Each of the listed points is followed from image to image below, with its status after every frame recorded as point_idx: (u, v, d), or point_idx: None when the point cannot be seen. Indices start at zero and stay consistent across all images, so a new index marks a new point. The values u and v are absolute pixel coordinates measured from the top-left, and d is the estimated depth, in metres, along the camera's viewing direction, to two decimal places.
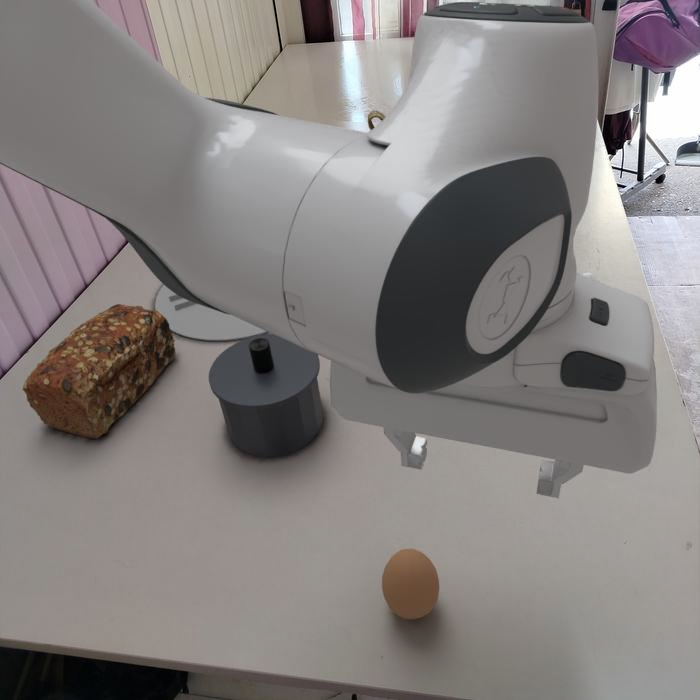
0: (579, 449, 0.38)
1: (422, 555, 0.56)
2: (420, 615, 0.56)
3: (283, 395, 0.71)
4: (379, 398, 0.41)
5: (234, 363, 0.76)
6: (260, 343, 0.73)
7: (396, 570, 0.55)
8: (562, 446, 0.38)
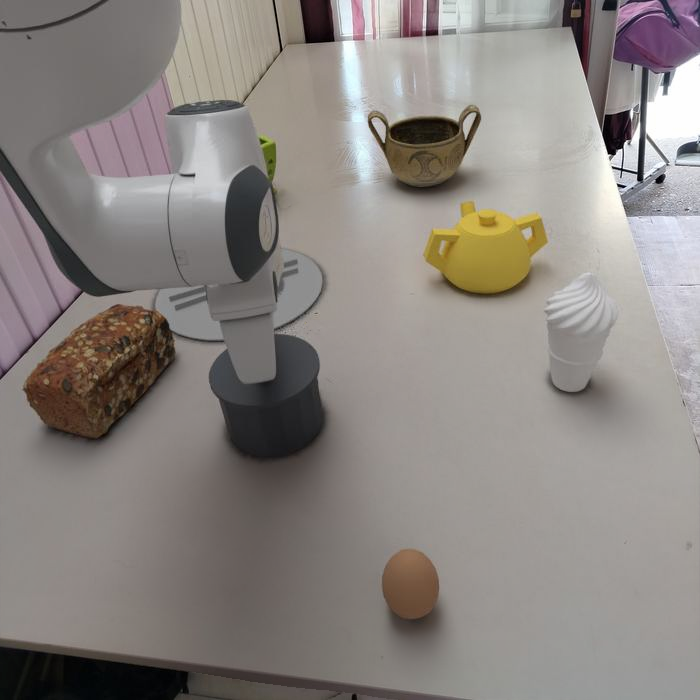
0: None
1: (422, 555, 0.56)
2: (420, 615, 0.56)
3: (283, 395, 0.71)
4: None
5: None
6: None
7: (396, 570, 0.55)
8: None
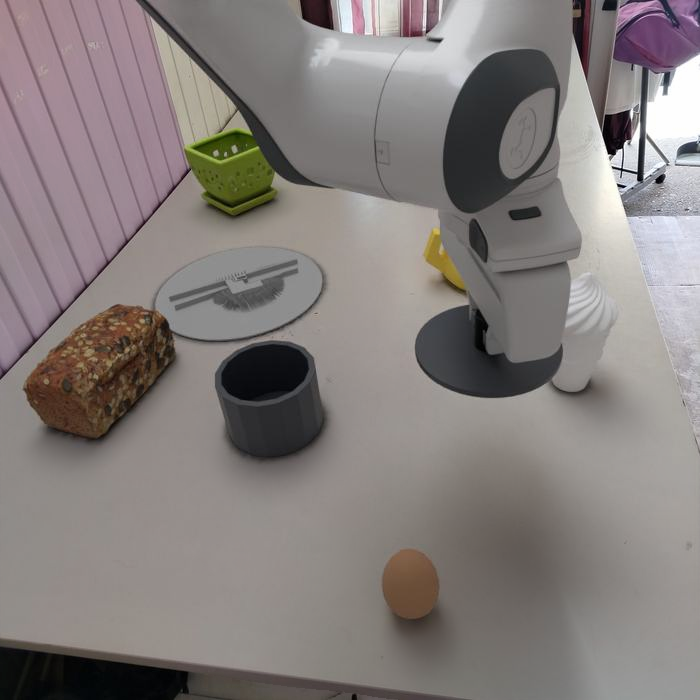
0: (494, 322, 0.49)
1: (422, 555, 0.56)
2: (420, 615, 0.56)
3: (530, 379, 0.54)
4: (449, 232, 0.58)
5: (445, 339, 0.59)
6: None
7: (396, 570, 0.55)
8: (490, 315, 0.49)
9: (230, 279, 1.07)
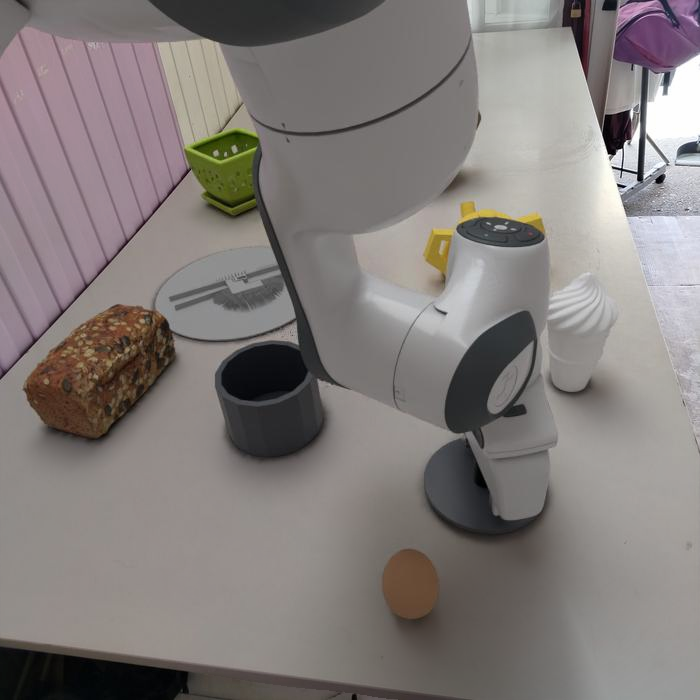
0: (489, 482, 0.60)
1: (422, 555, 0.56)
2: (420, 615, 0.56)
3: None
4: None
5: (449, 473, 0.70)
6: None
7: (396, 570, 0.55)
8: (486, 475, 0.61)
9: (230, 279, 1.07)
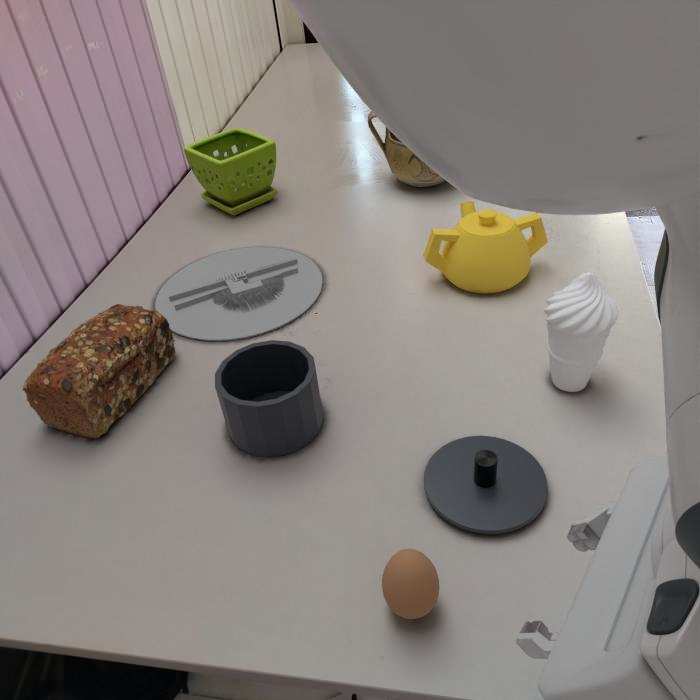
0: (574, 634, 0.36)
1: (422, 555, 0.56)
2: (420, 615, 0.56)
3: (520, 517, 0.65)
4: (652, 483, 0.43)
5: (449, 473, 0.70)
6: (487, 457, 0.67)
7: (396, 570, 0.55)
8: (579, 621, 0.37)
9: (230, 279, 1.07)
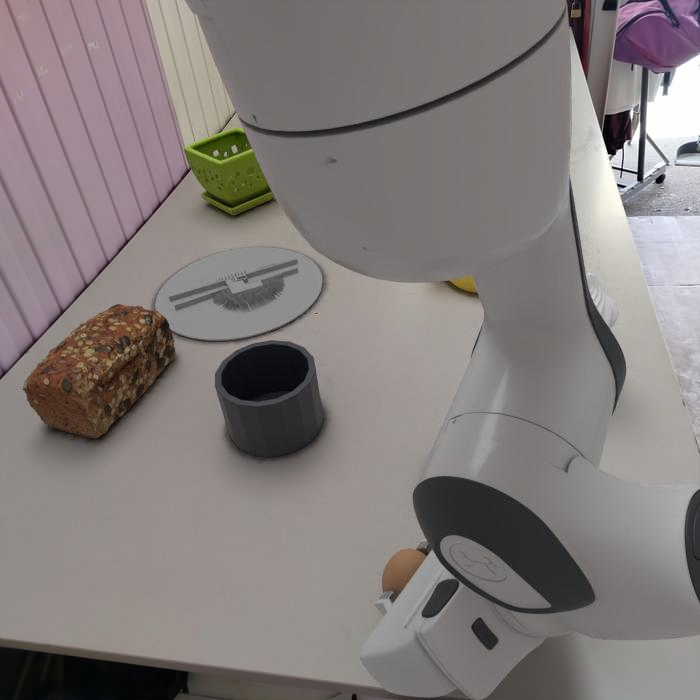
0: (392, 615, 0.49)
1: (422, 555, 0.56)
2: None
3: None
4: None
5: None
6: None
7: (396, 570, 0.55)
8: (399, 605, 0.49)
9: (230, 279, 1.07)
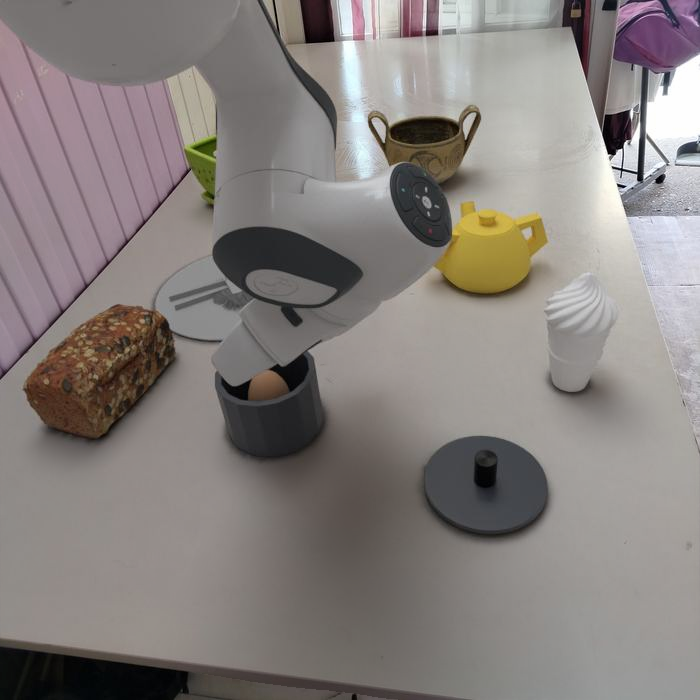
0: None
1: (275, 373, 0.76)
2: None
3: (520, 517, 0.65)
4: None
5: (449, 473, 0.70)
6: (487, 457, 0.67)
7: (254, 381, 0.76)
8: None
9: None
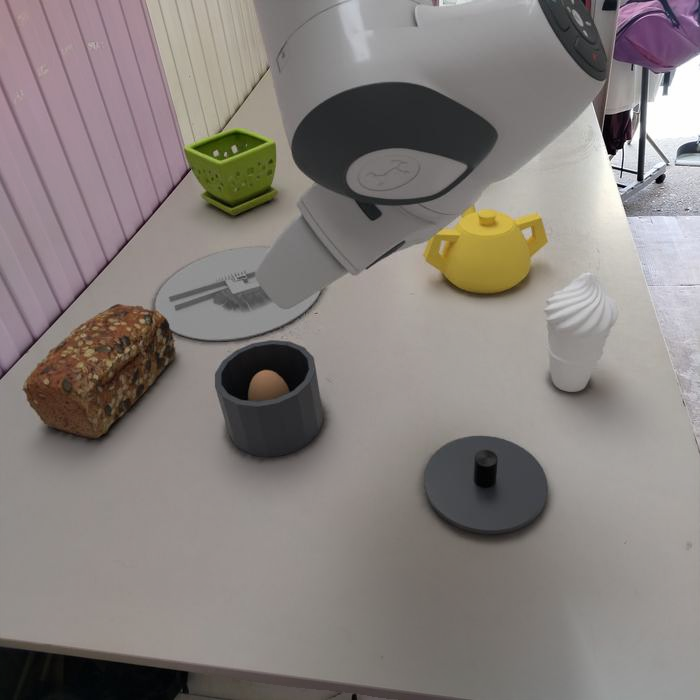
0: None
1: (275, 373, 0.76)
2: None
3: (520, 517, 0.65)
4: None
5: (449, 473, 0.70)
6: (487, 457, 0.67)
7: (254, 381, 0.76)
8: None
9: (230, 279, 1.07)
